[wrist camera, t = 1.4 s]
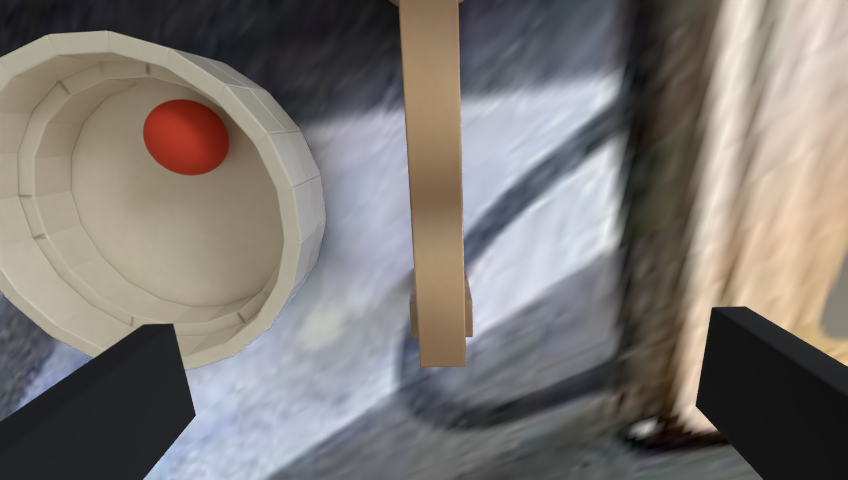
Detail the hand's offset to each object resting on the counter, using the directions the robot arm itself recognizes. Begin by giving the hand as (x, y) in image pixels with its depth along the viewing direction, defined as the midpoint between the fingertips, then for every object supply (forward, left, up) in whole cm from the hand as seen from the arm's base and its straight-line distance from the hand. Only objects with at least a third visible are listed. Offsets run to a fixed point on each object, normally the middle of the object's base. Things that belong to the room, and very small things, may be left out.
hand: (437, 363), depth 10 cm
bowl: (-2, -14, -14) cm, 20 cm away
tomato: (-6, -12, -11) cm, 17 cm away
